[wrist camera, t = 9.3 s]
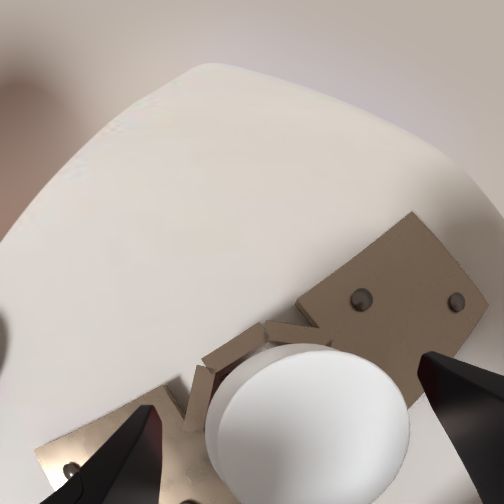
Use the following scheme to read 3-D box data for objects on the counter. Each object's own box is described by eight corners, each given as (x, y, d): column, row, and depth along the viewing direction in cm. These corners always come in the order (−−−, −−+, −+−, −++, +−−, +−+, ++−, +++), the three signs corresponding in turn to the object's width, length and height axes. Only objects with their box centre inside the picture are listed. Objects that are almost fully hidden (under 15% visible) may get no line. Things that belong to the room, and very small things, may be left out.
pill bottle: (320, 357, 17) (406, 295, 7) (339, 449, 14) (445, 496, 4) (218, 375, 16) (165, 340, 6) (235, 470, 13) (209, 563, 4)
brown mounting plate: (406, 218, 21) (422, 196, 19) (481, 308, 18) (504, 295, 15) (41, 449, 13) (15, 450, 10) (116, 560, 9) (99, 575, 6)
